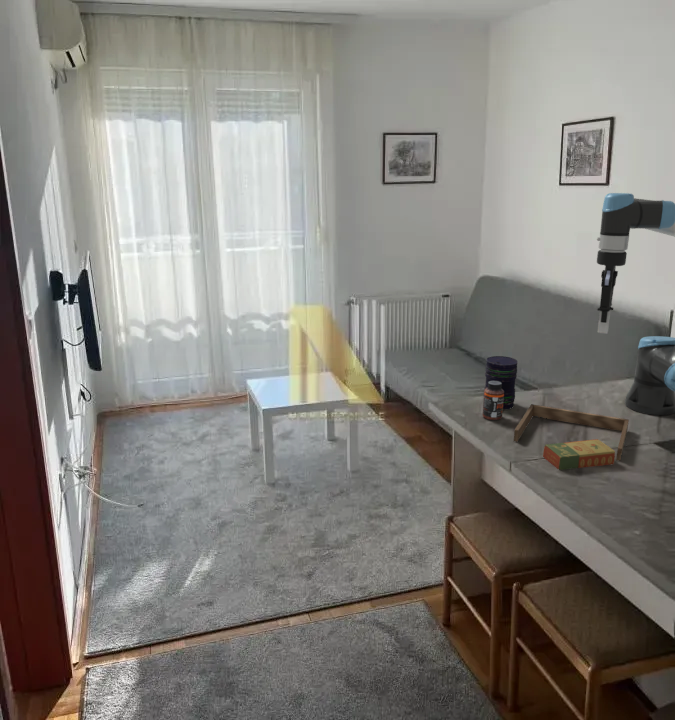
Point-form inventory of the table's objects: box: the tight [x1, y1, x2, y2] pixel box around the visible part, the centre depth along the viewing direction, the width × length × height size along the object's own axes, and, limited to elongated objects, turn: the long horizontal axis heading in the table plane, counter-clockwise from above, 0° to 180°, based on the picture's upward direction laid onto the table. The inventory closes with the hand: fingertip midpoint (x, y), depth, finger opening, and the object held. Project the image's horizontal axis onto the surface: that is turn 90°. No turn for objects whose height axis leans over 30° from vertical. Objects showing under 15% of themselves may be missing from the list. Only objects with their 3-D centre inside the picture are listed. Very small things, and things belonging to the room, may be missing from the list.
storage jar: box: [483, 355, 518, 410], centre depth 216 cm, size 10×10×15 cm
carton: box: [542, 438, 616, 471], centre depth 178 cm, size 8×16×4 cm, turn 102°
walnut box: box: [513, 403, 630, 462], centre depth 193 cm, size 28×23×4 cm
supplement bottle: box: [482, 381, 504, 421], centre depth 206 cm, size 6×6×11 cm
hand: (602, 332), depth 194 cm, fingers closed
